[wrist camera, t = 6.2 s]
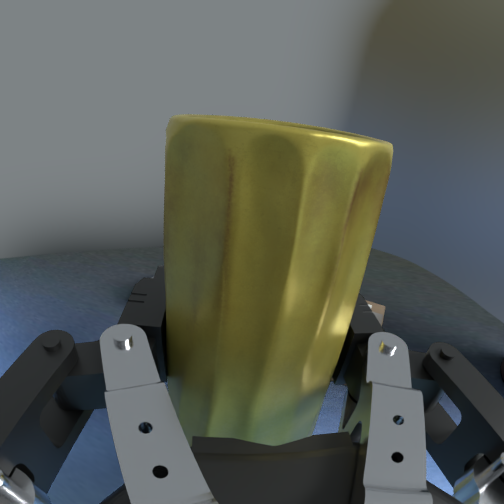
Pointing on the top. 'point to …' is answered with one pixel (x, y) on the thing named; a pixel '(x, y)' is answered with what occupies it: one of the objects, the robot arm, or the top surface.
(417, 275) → the top surface
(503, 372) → the bottle
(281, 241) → the vase
